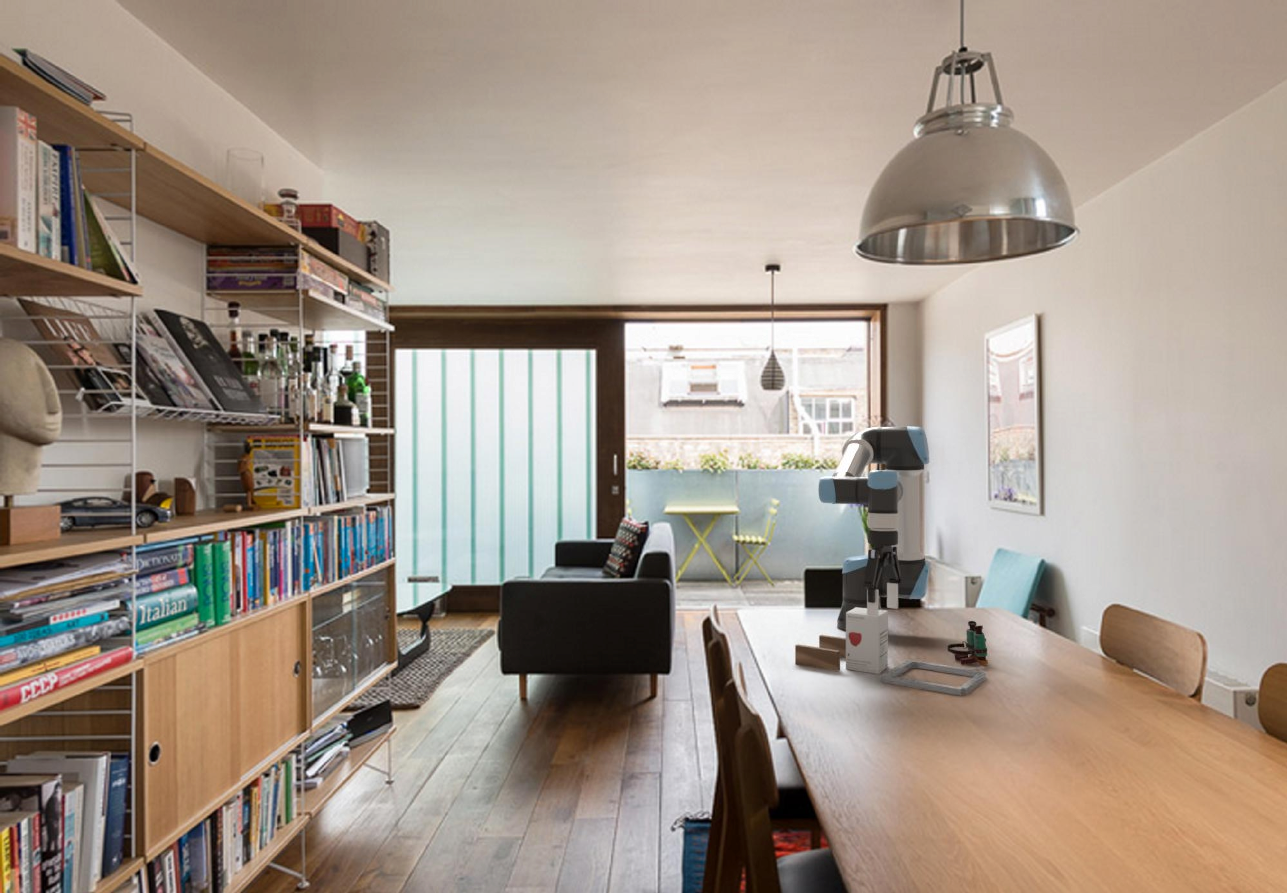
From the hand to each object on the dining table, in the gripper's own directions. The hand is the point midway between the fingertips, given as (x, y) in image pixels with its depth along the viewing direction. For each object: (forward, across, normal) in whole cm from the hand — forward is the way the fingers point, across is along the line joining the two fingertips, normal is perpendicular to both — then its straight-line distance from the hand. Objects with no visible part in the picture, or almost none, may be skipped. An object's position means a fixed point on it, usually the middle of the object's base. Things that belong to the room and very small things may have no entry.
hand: (882, 611), depth 215 cm
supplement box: (+15, 0, -4) cm, 16 cm away
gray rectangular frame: (+15, 0, +13) cm, 20 cm away
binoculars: (+15, -22, +15) cm, 31 cm away
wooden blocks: (+15, 0, -15) cm, 21 cm away
